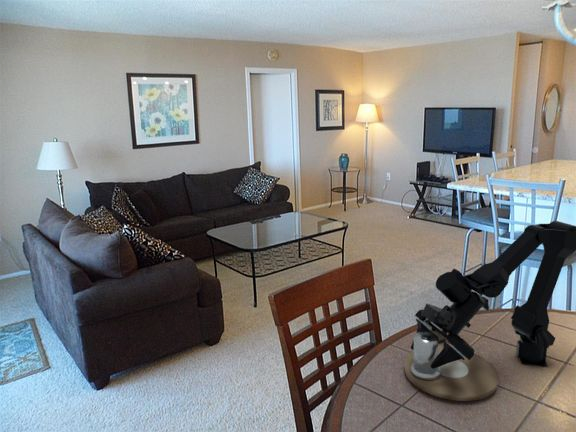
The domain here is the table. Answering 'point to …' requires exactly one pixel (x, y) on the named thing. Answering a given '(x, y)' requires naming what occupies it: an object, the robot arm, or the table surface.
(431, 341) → the cover
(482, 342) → the table surface
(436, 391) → the turntable
